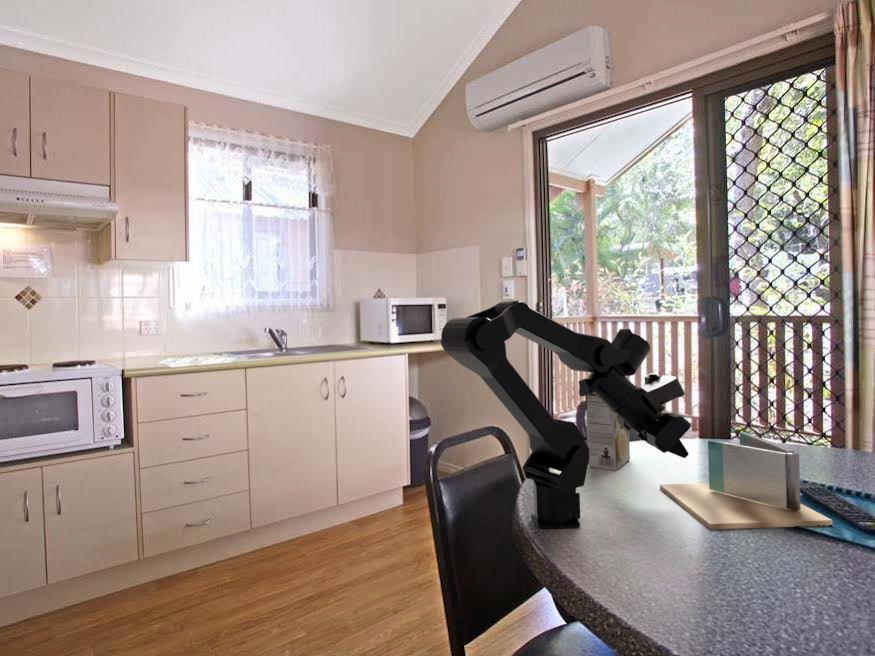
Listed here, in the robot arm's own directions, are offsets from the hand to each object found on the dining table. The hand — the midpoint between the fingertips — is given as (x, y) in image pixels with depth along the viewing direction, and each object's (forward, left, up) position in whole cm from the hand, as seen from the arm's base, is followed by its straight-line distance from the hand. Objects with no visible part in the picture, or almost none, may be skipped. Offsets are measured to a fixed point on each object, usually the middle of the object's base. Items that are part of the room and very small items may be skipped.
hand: (685, 455), depth 88 cm
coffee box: (-6, +23, -8) cm, 25 cm away
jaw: (+9, -4, -6) cm, 12 cm away
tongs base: (+7, -3, -8) cm, 11 cm away
